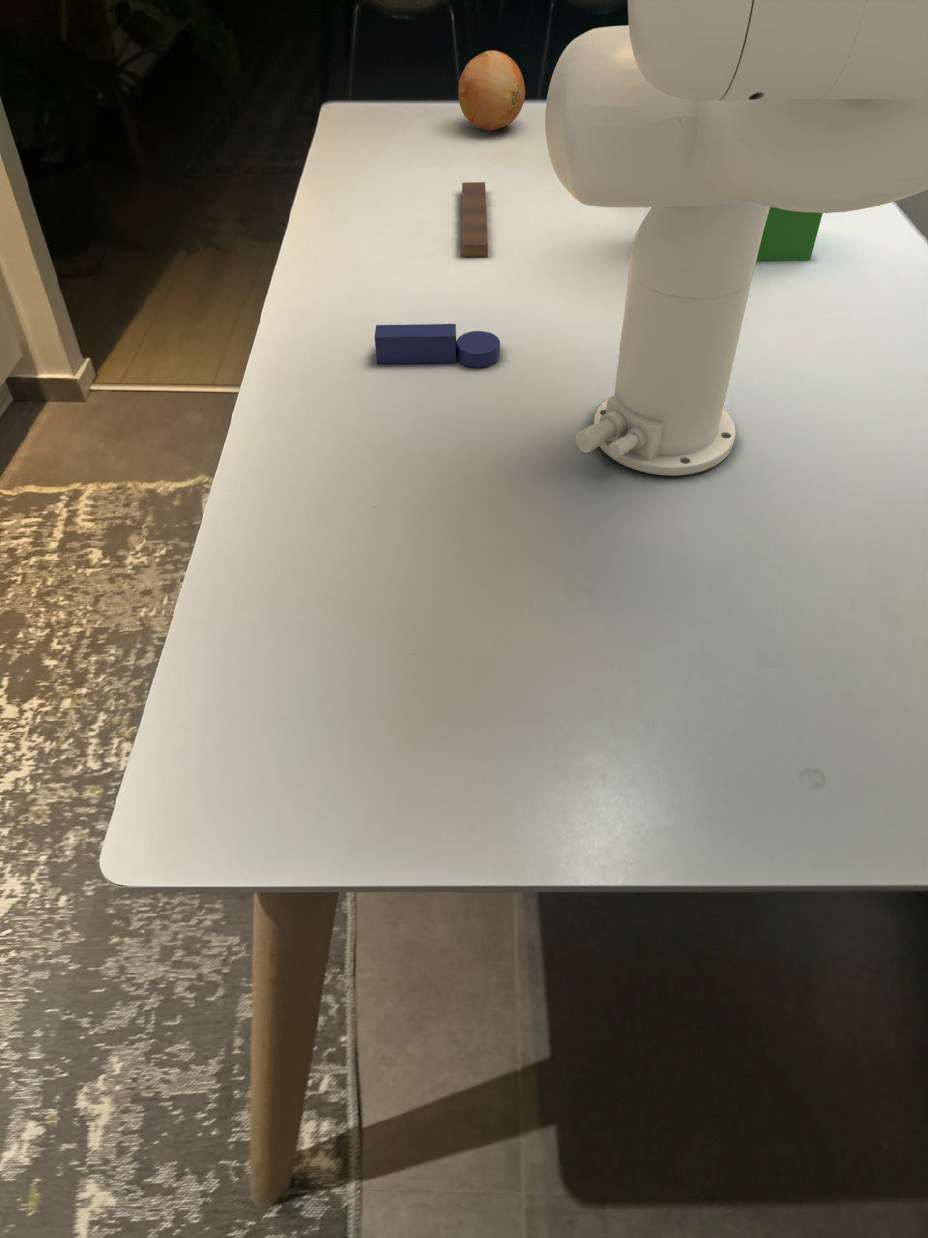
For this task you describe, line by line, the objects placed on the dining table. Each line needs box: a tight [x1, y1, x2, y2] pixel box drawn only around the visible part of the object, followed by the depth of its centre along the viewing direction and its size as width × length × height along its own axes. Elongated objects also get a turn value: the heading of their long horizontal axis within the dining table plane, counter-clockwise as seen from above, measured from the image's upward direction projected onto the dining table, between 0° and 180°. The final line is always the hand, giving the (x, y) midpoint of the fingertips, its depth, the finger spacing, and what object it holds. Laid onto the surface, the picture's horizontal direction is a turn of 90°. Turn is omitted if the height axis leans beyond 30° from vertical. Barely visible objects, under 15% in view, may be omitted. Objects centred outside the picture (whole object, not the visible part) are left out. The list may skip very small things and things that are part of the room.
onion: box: [457, 49, 526, 132], centre depth 133 cm, size 10×10×10 cm
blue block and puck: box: [374, 323, 501, 369], centre depth 92 cm, size 12×4×3 cm, turn 90°
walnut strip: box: [461, 181, 489, 258], centre depth 114 cm, size 18×3×2 cm, turn 0°
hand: (682, 52), depth 74 cm, fingers open, 9 cm apart
